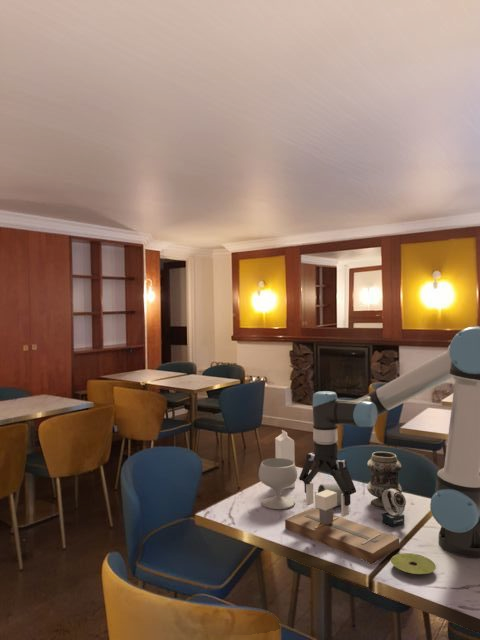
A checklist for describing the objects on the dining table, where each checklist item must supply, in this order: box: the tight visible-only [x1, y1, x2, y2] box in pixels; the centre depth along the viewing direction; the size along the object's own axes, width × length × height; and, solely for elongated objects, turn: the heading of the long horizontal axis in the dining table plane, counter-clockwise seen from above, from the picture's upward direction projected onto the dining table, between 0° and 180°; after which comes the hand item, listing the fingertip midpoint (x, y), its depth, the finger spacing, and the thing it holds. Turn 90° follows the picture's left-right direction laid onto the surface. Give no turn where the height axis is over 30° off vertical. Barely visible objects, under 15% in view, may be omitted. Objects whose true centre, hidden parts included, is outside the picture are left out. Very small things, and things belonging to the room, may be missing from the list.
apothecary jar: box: [366, 451, 403, 510], centre depth 178 cm, size 12×12×18 cm
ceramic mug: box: [317, 483, 343, 507], centre depth 179 cm, size 11×8×8 cm
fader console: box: [284, 507, 400, 565], centre depth 151 cm, size 32×14×3 cm, turn 43°
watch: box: [381, 489, 407, 529], centre depth 161 cm, size 6×8×11 cm
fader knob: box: [314, 490, 337, 525], centre depth 155 cm, size 4×6×9 cm, turn 133°
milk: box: [274, 429, 296, 490], centre depth 198 cm, size 6×6×22 cm
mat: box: [390, 552, 437, 575], centre depth 131 cm, size 11×11×2 cm
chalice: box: [258, 457, 298, 510], centre depth 179 cm, size 14×14×15 cm
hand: (327, 509), depth 155 cm, fingers open, 13 cm apart
